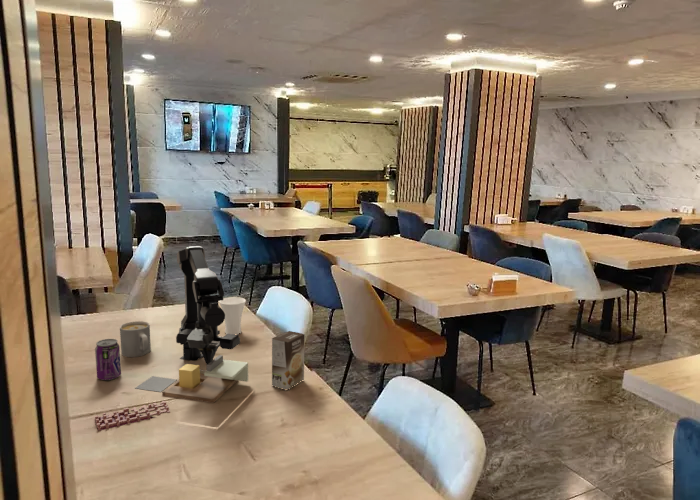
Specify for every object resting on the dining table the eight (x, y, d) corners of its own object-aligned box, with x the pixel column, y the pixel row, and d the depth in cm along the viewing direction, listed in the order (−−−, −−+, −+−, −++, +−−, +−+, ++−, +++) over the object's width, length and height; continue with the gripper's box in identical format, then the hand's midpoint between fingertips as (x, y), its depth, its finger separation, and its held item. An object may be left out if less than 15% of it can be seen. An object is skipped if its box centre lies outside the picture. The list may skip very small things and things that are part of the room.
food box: (287, 391, 161) (287, 342, 158) (271, 386, 164) (271, 338, 161) (304, 380, 169) (305, 333, 166) (288, 376, 172) (288, 330, 169)
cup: (214, 333, 210) (213, 301, 207) (233, 326, 218) (232, 295, 216) (233, 339, 204) (232, 306, 202) (251, 331, 213) (251, 299, 210)
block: (187, 381, 165) (186, 363, 164) (200, 383, 164) (199, 365, 163) (179, 387, 161) (178, 369, 159) (192, 389, 160) (191, 371, 158)
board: (190, 374, 171) (190, 367, 170) (238, 381, 167) (238, 374, 167) (162, 396, 156) (162, 388, 155) (213, 404, 152) (213, 396, 151)
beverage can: (112, 383, 164) (109, 347, 162) (92, 380, 165) (89, 344, 163) (125, 373, 171) (123, 339, 168) (106, 371, 172) (104, 337, 170)
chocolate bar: (172, 415, 146) (172, 408, 146) (98, 432, 136) (97, 425, 136) (166, 404, 152) (166, 398, 152) (95, 420, 142) (94, 413, 142)
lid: (222, 377, 166) (221, 353, 164) (248, 380, 164) (247, 356, 162) (204, 392, 155) (204, 366, 154) (232, 396, 153) (231, 370, 152)
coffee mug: (118, 350, 190) (117, 324, 189) (146, 344, 196) (145, 319, 194) (127, 362, 180) (125, 335, 178) (156, 356, 185) (155, 329, 184)
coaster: (152, 377, 168) (152, 376, 168) (177, 381, 166) (177, 379, 166) (134, 389, 160) (134, 388, 159) (160, 393, 157) (160, 391, 157)
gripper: (164, 321, 151) (166, 372, 154) (223, 328, 146) (224, 380, 149) (185, 310, 161) (187, 358, 164) (240, 316, 157) (241, 365, 160)
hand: (208, 365), depth 159 cm, fingers closed
